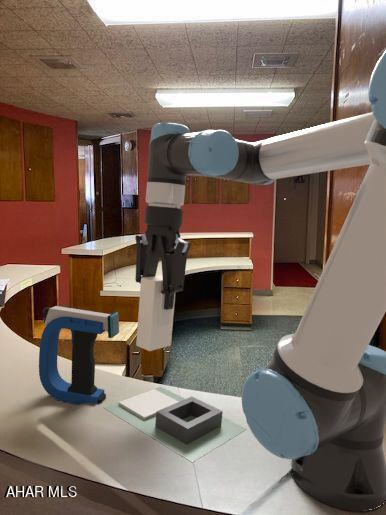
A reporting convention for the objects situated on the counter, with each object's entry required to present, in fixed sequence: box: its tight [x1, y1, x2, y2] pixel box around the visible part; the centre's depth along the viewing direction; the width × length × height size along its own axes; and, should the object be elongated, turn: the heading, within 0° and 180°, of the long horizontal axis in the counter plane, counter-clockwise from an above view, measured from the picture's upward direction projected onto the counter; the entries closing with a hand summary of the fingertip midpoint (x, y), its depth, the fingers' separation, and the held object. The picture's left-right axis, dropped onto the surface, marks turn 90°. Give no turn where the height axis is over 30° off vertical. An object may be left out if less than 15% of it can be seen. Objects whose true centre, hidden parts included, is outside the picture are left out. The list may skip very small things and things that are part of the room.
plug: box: [135, 275, 176, 352], centre depth 84 cm, size 4×6×14 cm, turn 138°
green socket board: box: [103, 386, 247, 463], centre depth 82 cm, size 24×16×4 cm, turn 48°
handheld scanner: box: [38, 305, 120, 406], centre depth 87 cm, size 5×16×20 cm, turn 78°
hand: (155, 321), depth 84 cm, fingers closed on plug, 4 cm apart
